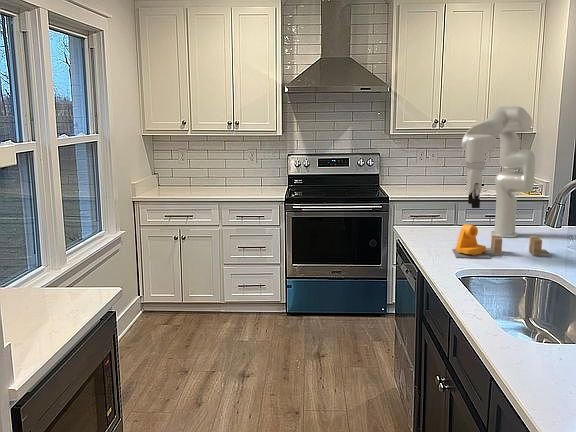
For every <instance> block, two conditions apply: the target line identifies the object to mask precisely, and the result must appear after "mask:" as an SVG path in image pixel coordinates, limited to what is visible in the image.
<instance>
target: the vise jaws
mask: <svg viewBox="0 0 576 432" xmlns="http://www.w3.org/2000/svg"><path fill="white" fill-rule="evenodd" d="M490 237H491V239H490V247H486V251H483V252H484V254H489V256H490V257H492V256H495V257H497V256H498V257H500V256H502V252H503V251H502V250H503V239H502V238H503V237H500V236H499V235H492V234H491V236H490ZM542 246H543V240H542V239H541V238H540V237H539V236H538V235H537V236H536V235H530V236H529V246H528V252H529V253H530V254H531V255H532V256H533V257H536V258H552V257H553V255H552V253H550V251H548V250H547V249H544V248H542Z"/></svg>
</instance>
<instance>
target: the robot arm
mask: <svg viewBox="0 0 576 432" xmlns="http://www.w3.org/2000/svg"><path fill="white" fill-rule="evenodd" d="M532 119H533V118H532V115H530V113H529V112H528V111H527V110H526V108H523V107H521V106H517V105H515V106H514V105H513V106H510V105H509V106H507V105H506V106H498V107H496V108H494V109H493V110H492V111H491V112H490V114H489V116H488V118H487V119H486V120H485V121H482V122H480V123H478V124H475V125H473V126H472V127H470V128H469V129H468V130H467V131H466V132H465V134H464V135H463V137H462V140H461V148H462V149H463V150H464V152H466V154H465V161H466V162H465V170H467V175H466V186H465V187H466V188H465V189H466V190H465V191H467V193H468V197H467V198H468V199H467V202H468V204H469V205H471V209H480V208H481V207H480V206H481V192H482V186H483V185H482V182H483V179H482V178H483V171H484V170H485V168H486V166H485V165H486V153H492V152H493V151H495V149H497V146H498V140H497V138H496V137H497V136H498V137H499V140H500V141H499V143H500V144H499V145H500V146H499V166H500V167H501V168H502V169H504V170H505V169H506V170H521V171H522V172H519V171H518V172H517V171H501V172H499V173H497V174H496V176H495V179H494V180H495V181H494V182H495V184H494V185H495V191H496V192H495V193H496V194H495V195H496V196H495V199H496V200H495V201H496V202H495V217H494V222H495V223H494V230H493V231H491V233H490V234H491V235H499V236H500V237H501V238H517V237H518V236H519V233H518V232H516V223H517V222H516V221H517V209H518V208H517V205H518V201H517V197H516V195H515V194H514V193H531V192H532V191H533V189H534V184H535V172H536V171H535V170H536V156H535V153H534V152H533V150H530V149H520V138H519V135H518V134H517V133H528V132H529V131H530V130H531V128H532V125H533V120H532Z"/></svg>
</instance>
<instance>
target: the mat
mask: <svg viewBox="0 0 576 432" xmlns="http://www.w3.org/2000/svg"><path fill="white" fill-rule="evenodd" d="M452 252H453V254H454V256H455V258H456V259H478V260H480V259H482V260H491V259H492V256H489V254H484V252H483V251H482V254H477V255H470V254H465V253H461V252H457V251H456V248H452Z"/></svg>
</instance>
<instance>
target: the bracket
mask: <svg viewBox="0 0 576 432" xmlns="http://www.w3.org/2000/svg"><path fill="white" fill-rule="evenodd" d="M478 233H479V229H478V227H477V226H476V225H473V224H467V223H465V224H463V225H462V226H461V227H460V230H459V235H458V238H457V243H456V246H455V249H456V251H457V252H461V253H465V254H470V255H477V254H482V251H486V248H487V246H486V245H481V244H478V241H477V236H478Z"/></svg>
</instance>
